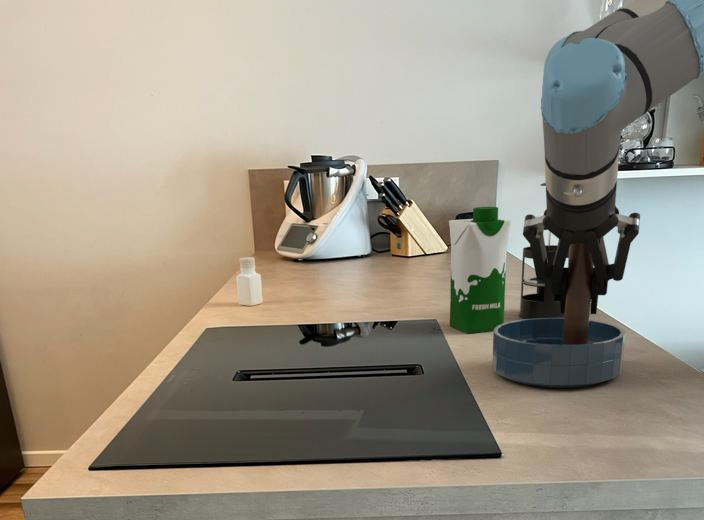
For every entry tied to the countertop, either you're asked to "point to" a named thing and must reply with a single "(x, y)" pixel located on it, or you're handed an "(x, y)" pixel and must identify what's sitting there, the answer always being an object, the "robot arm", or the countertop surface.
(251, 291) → the pepper shaker
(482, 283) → the milk carton
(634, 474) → the countertop surface
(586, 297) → the brown wooden cylinder
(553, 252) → the french press
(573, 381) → the bowl
